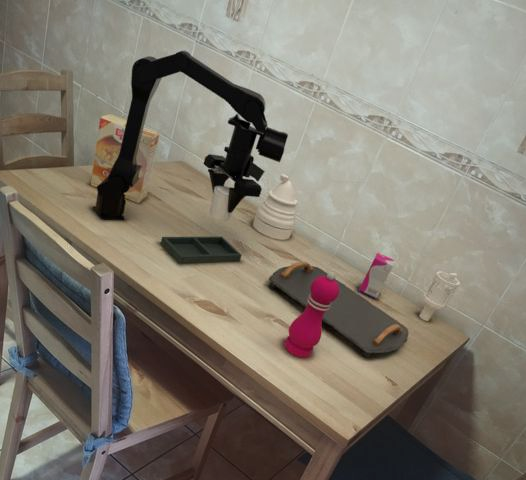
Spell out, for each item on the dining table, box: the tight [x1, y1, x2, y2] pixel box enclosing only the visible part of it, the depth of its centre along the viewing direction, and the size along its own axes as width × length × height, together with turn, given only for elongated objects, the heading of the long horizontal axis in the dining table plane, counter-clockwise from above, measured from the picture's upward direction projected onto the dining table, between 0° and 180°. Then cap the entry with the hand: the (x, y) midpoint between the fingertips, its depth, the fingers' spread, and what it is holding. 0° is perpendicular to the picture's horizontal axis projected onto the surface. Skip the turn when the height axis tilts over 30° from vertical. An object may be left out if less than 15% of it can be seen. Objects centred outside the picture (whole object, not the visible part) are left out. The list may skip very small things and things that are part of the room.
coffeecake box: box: [90, 113, 160, 204], centre depth 145 cm, size 15×7×20 cm, turn 82°
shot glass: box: [209, 185, 235, 222], centre depth 133 cm, size 7×7×7 cm
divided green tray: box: [160, 236, 242, 265], centre depth 135 cm, size 19×10×2 cm, turn 128°
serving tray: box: [268, 261, 409, 359], centre depth 132 cm, size 39×23×6 cm, turn 49°
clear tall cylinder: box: [419, 270, 461, 322], centre depth 146 cm, size 7×7×15 cm
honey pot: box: [252, 173, 299, 241], centre depth 161 cm, size 13×13×18 cm
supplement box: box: [358, 252, 396, 300], centre depth 149 cm, size 6×6×12 cm
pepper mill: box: [284, 271, 339, 358], centre depth 108 cm, size 7×7×20 cm
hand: (222, 206), depth 133 cm, fingers closed on shot glass, 6 cm apart
